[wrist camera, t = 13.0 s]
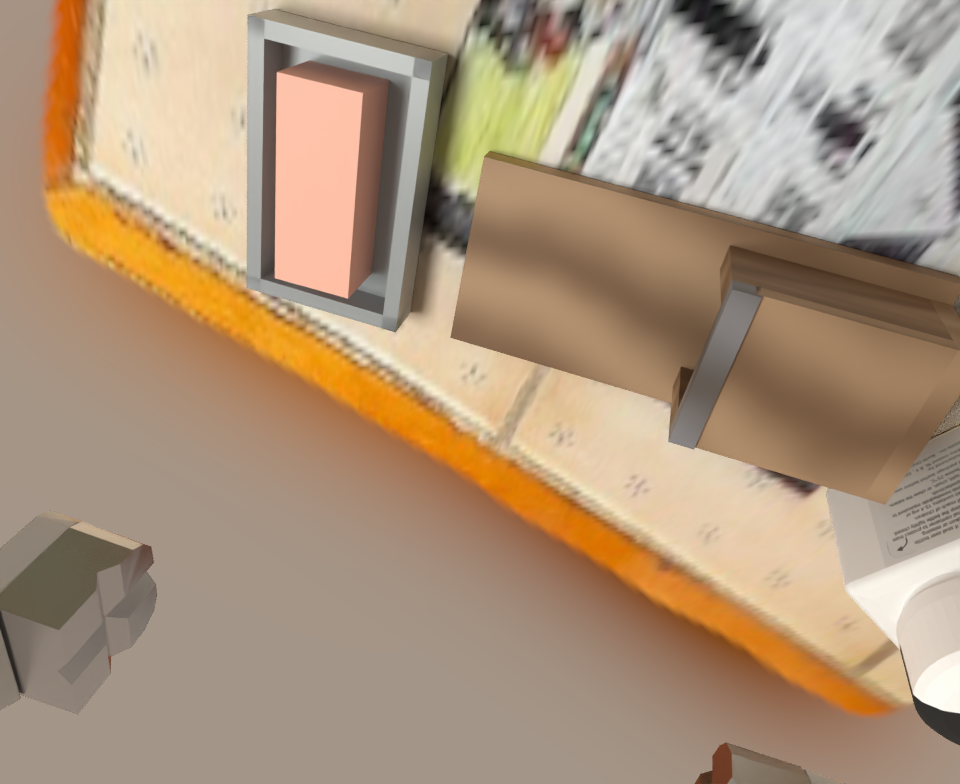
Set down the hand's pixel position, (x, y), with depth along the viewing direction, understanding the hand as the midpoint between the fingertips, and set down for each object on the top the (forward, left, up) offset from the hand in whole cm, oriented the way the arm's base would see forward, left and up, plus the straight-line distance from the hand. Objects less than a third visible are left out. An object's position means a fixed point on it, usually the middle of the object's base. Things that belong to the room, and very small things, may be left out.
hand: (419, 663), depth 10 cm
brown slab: (+7, +5, -29) cm, 30 cm away
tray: (+5, -13, -29) cm, 32 cm away
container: (+14, +21, -29) cm, 39 cm away
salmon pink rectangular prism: (+5, -13, -28) cm, 32 cm away
